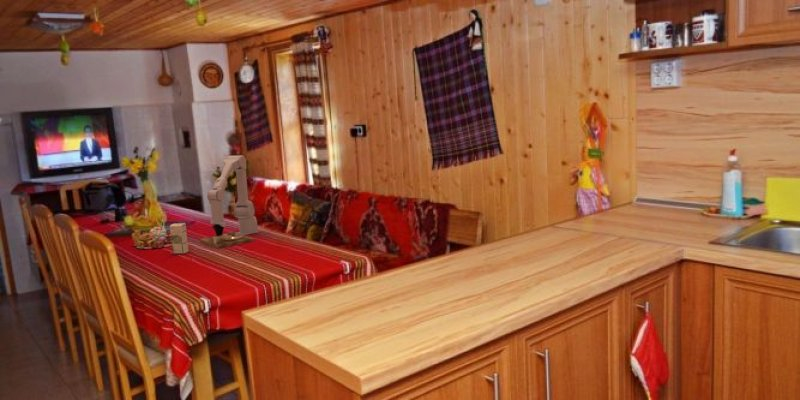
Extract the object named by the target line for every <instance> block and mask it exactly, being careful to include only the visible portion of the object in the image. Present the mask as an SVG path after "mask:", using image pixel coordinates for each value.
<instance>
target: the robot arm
mask: <svg viewBox="0 0 800 400" xmlns="http://www.w3.org/2000/svg"><path fill="white" fill-rule="evenodd" d="M223 164H224V166H223V169H222V172H221V174H220V176H219V177H217V178H216V180H215V182H214V184H213V186H212V188H211V189H210V190H208V192H207V195H206V197H207V200H208V203H209V205H210V213H211V219H210V222H209V223H210V224H211V225H212V228H213V231H214V232H215V235H216V236H219V235H222V234H224V233H223V232H224V228H225V227H227V222H226V221H225V220H224V219H225V218H224V209H223V208H224V206H223V199H224V198H225V189H226V188H227V185H228V178H229V177H230V175H231V174H232V171H234V172H235V177H236V189H237V200H236V201H237V202H235V203H234V209H233V210H234V211H233V213H234V216H235V217H236V219H237V221H238V228H239V229H238V230H239V232H238V231H237V232H236V233H239V234H242V235H245V236H247V235H252V234H256V233H259V230H258V229H259V228H258V220H257V217H256V216H255V211H256V210H255V207H254V203H253V202H252V201H251V200H249V195H248V183H247V182H248V181H247V180H248V179H247V158H246V157H245V156H244V155H242V154H241V155H225V157H224V160H223Z"/></svg>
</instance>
